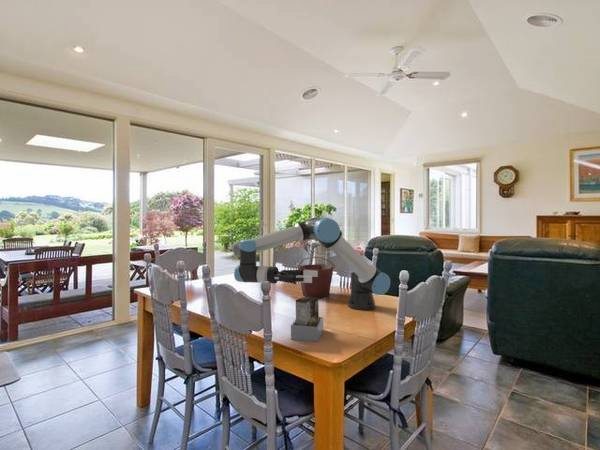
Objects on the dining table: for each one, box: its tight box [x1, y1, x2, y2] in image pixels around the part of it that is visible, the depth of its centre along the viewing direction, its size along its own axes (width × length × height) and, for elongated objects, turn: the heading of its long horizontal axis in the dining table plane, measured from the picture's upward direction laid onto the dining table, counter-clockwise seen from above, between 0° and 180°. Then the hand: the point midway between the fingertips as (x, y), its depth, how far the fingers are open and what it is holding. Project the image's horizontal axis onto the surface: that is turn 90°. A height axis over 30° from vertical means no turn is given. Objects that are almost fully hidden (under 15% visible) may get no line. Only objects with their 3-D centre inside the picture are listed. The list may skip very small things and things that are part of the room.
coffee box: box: [295, 296, 320, 327], centre depth 155 cm, size 9×6×16 cm
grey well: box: [290, 316, 324, 342], centre depth 156 cm, size 12×15×6 cm
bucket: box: [295, 256, 336, 300], centre depth 227 cm, size 24×22×25 cm
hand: (314, 276), depth 154 cm, fingers open, 13 cm apart
